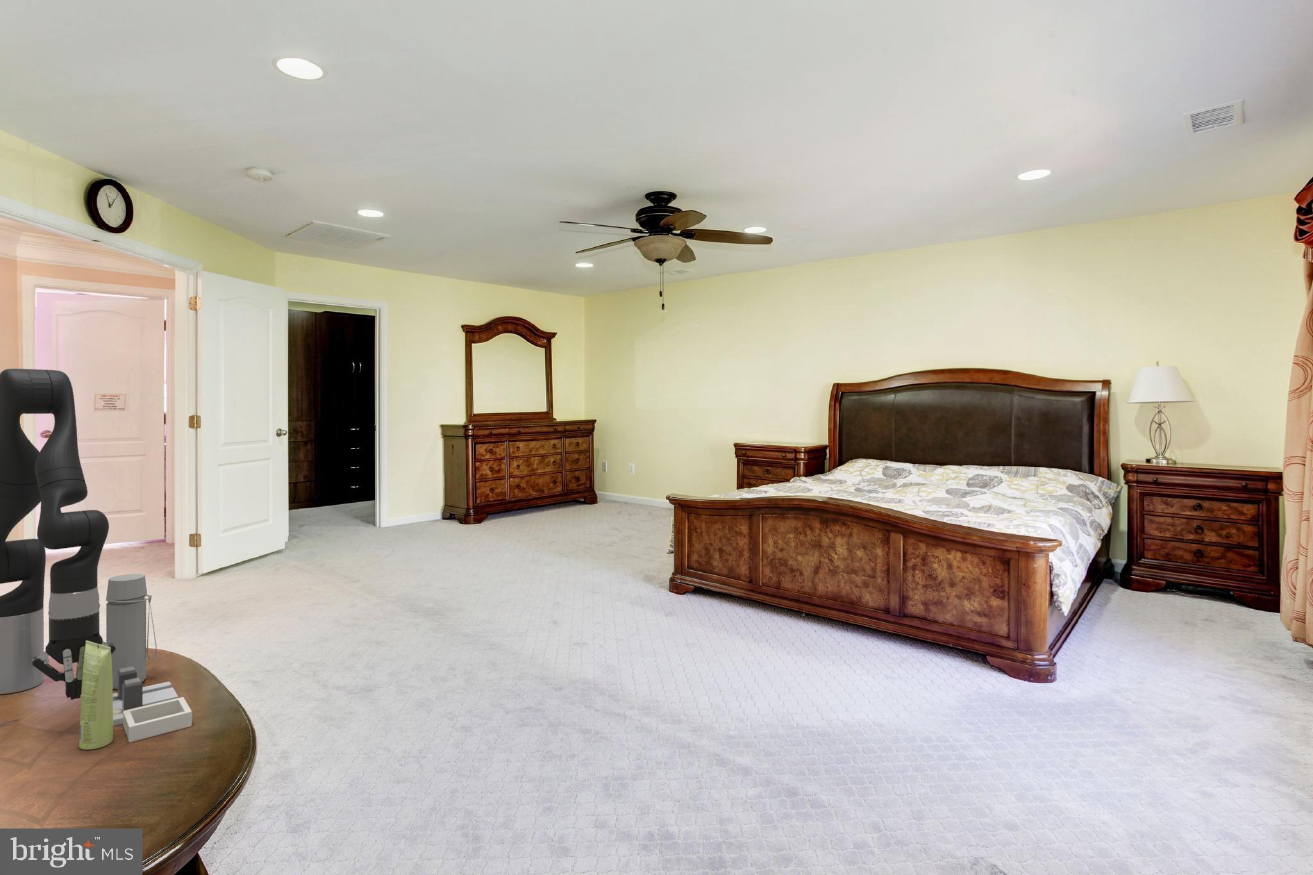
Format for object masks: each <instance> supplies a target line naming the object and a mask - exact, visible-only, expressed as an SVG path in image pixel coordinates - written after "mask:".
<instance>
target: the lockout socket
mask: <svg viewBox="0 0 1313 875" xmlns="http://www.w3.org/2000/svg"><path fill="white" fill-rule="evenodd" d="M192 713H193V711H192V709H191V707H190V706H189V704H188V702H187V701H186V699H185V698H184V697H183V696H181V697H179V698H176V699H172V700H168V701H164V702H159V703H155V704H151V705H146V706H142V707H138V708H134V709H129V710H125V711H123V724H122V728H123V729H124V732H125V735H126V738H127V741H128V743H133V742H137V741H139V740H144V739H147V738H152V737H156V736H159V735H163V734H167V733H171V732H174V731H178V730H181V729H186V728H190V727H192V726H193V725H192V724H193V720H192V719H193V714H192Z"/></svg>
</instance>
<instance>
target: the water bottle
mask: <svg viewBox="0 0 1313 875" xmlns="http://www.w3.org/2000/svg"><path fill="white" fill-rule="evenodd" d="M152 597H153V595H149V594H148V590H147V582H146V575H145V574H143V573H126V574H120V575H116V576H112V577H109V578H108V581H107V590H106V597H105V601H106V604H105V606H106V608H105V620H106V621H105V622H106V623H105V624H106V626H105V628H106V629H105V631H106V633H105V637H106V640H105V642H106V643H108V644H110V643H112V644H114V646H115V648H116V649H115V651H114V652H113V653H112V654H111V658H112V683H113V690H117V672H118V671H119V669H122V668H127V667H132V666H134V668H135V669H136V671H137V678H139V679H140V680H141V682H142V683H143V682H144V681H145V679H146V678H147V658H148V659H149V660H150V661H151V660H155V659H156V656H157V649H158V648H157V646H158V645H157V640H156V633H155V626H154V625H152V629H153V635H154V645H155V649H154V650H155V652H154V655H153V656H154V657H150V656H149V632H150V630H149V629H150V628H149V627H150V615H151V617H153V614H152V611H150V613H148V616H147V603H148V605H149V610H152V607H151V605H152V604H151V600H152ZM147 619H148V620H147ZM151 623H152V624H154V620H153V618H151Z"/></svg>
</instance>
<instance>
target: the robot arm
mask: <svg viewBox="0 0 1313 875" xmlns="http://www.w3.org/2000/svg"><path fill="white" fill-rule="evenodd" d="M23 414H25V415H44V414H45V415H46V414H48V415H49V414H51V415H53V418H54V423H53V424H54V426H53V430H52V432H51V433H50V435H49V437H48V438H47V440H46V442H45V443H44V445H43V446H42V447H41V449H40V451H39V449H38V448H37V447H36V446H35V445H34V444H33V443H32V442H31V441H30V439H29V438H28V437H27V435H26V434H25V432H24V430H23V429H22V426H21V417H22V415H23ZM78 446H79V444H78V427H77V417H76V405H75V396H74V390H73V385H72V382H71V379H70V378H69V376H68V375H67V374H66V373H65V372H64V371H61V370H56V369H40V368H39V369H38V368H37V369H36V368H6V369H4V370H2V371H1V372H0V585H3V584H8V583H9V584H10V583H17V582H21V583H19V585H18V586H17V587H15V588H13V589H12V590H11V591H7V593H4V594H3V595H2V594H1V595H0V695H5V694H12V693H14V694H15V693H19V692H23V691H26V690H31V689H33V688H35V687H37V686H39V685H41V684H43V683H44V681H45V676H46V677H48V678H49V679H51V680H52V681H53V682H65V684H64V686H65V689H64V690H65V697H66V698H69V699H70V701H73V700H77V699H81V693H82V677H83V664H84V653H85V646H86V641H90V642H93V643H96V644H100V645H103V646H107V647H111V654H112V653H113V652H114V651H115V649H116V648H115V646H114V644H112V643H110V644H108V643H106V641H104V640H103V639H104V638H103V637H102V635H101V634H100V609H101V604H100V595H99V594H100V593H99V586H98V570H99V569H98V568H99V562H100V558H101V555H102V552H103V549H104V545H105V543H106V540H107V538H108V535H109V528H110V523H109V519H108V517H107V516H106V515H105V514H104V513H103V512H102V511H100V510H98V509H85V510H76V511H75V510H74V511H66V512H63V511H62V509H61V508H64V507H68V506H72V505H75V504H78V503H80V502H83V501H84V500H85V499H86V498H87V497H88V494H89V493H88V492H89V491H88V486H87V483H86V479H85V475H84V471H83V467H82V464H81V459H80V454H79V447H78ZM39 504H40V510H39V511H40V512H39V519H38V524H37V530H36V531H37V532H36V538H25V539H16V540H7V539H8V537H9V535H10V533H11V532H12V531H13V529H14V528H15V527H16V526H17V525H18V524H19V523H20V522H21V521H22V520H23V519H24V518H25V517H27V515H29V514H30V513H31V512H32V511H33V510H35V508H37V506H38V505H39ZM70 548H71V549H72V548H79V549H78V551H77V552H76V553H75V554H74V555H73V556H70V557H67V558H64V559H61V560H58V561H56V562H54V563H53V564H52V565H51V567H50V569H49V570H50V571H49V580H50V581H49V582H50V583H49V584H50V586H49V589H50V592H49V594H50V595H49V600H48V612H47V613H48V643H47V645H46V646H45V634H44V633H45V627H44V626H45V621H44V613H45V612H44V609H45V608H44V605H45V604H44V602H45V600H44V598H45V579H46V578H45V576H46V564H47V562H46V561H47V554H46V553H47V552H46V549H48V550H53V551H55V550H64V549H70ZM49 657H50V658H52V659H53V660H54V661H56V662H57V663H58V664H60V665H63V671H64V672H61V671H59V670H58V669H56V668H55V667H53V666H52V665H51V664H49V663H50V658H49ZM74 663H76V671H75V676H74V667H73V664H74Z"/></svg>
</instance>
